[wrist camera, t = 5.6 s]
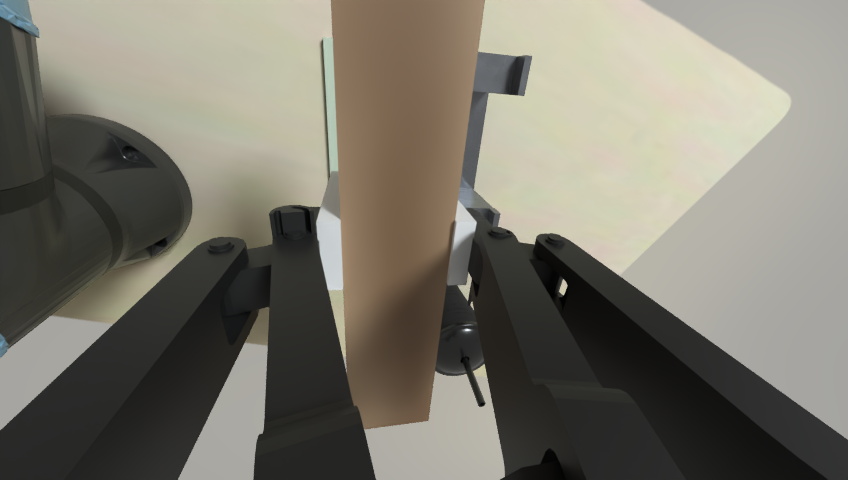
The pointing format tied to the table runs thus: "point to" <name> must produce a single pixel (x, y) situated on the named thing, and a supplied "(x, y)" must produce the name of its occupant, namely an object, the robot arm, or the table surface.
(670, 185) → the table surface
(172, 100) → the table surface
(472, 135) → the rack
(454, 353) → the drinking cup
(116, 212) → the robot arm
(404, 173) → the rail
